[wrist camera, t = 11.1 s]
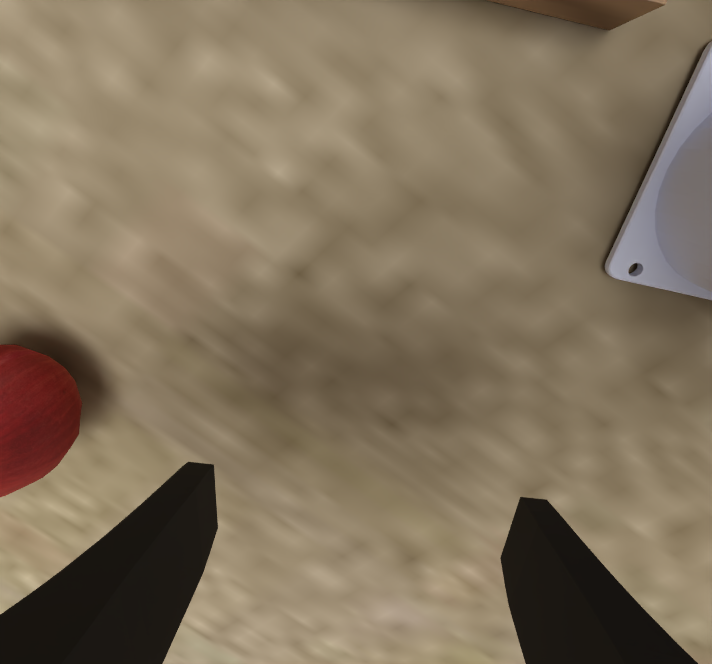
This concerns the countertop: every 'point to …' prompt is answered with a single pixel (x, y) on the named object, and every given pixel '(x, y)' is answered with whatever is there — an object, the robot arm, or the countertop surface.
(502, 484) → the countertop surface
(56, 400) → the onion
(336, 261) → the countertop surface
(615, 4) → the socket board
